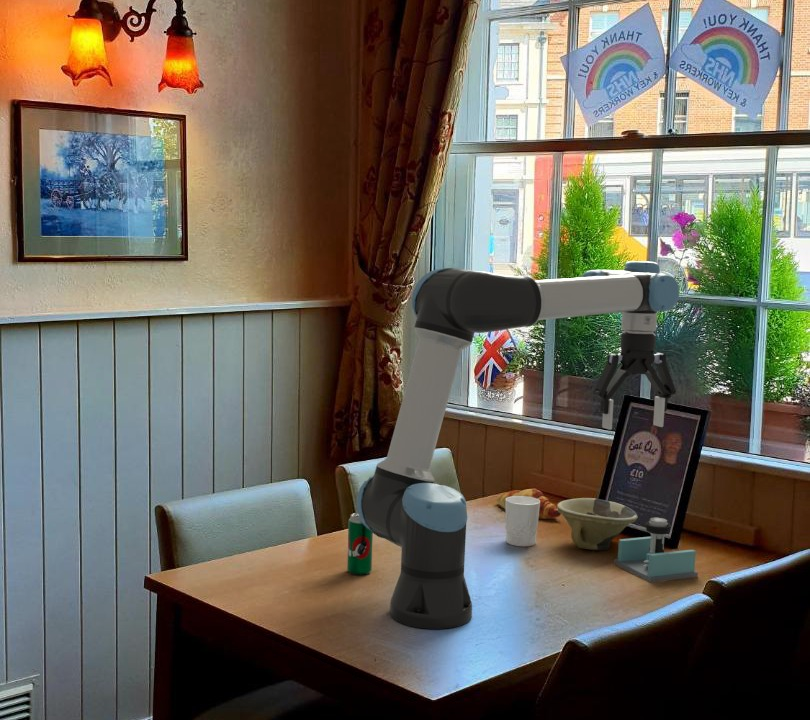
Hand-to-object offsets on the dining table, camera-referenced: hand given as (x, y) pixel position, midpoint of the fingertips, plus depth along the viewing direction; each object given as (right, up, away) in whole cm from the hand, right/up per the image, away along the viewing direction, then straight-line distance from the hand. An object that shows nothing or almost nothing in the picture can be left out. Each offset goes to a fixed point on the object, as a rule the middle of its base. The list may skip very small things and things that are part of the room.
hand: (632, 427), depth 235 cm
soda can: (-60, -29, -16) cm, 69 cm away
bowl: (-7, -28, +7) cm, 30 cm away
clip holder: (+3, -30, -8) cm, 31 cm away
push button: (+3, -29, -9) cm, 31 cm away
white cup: (-24, -27, +9) cm, 37 cm away
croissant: (-19, -24, +36) cm, 47 cm away
